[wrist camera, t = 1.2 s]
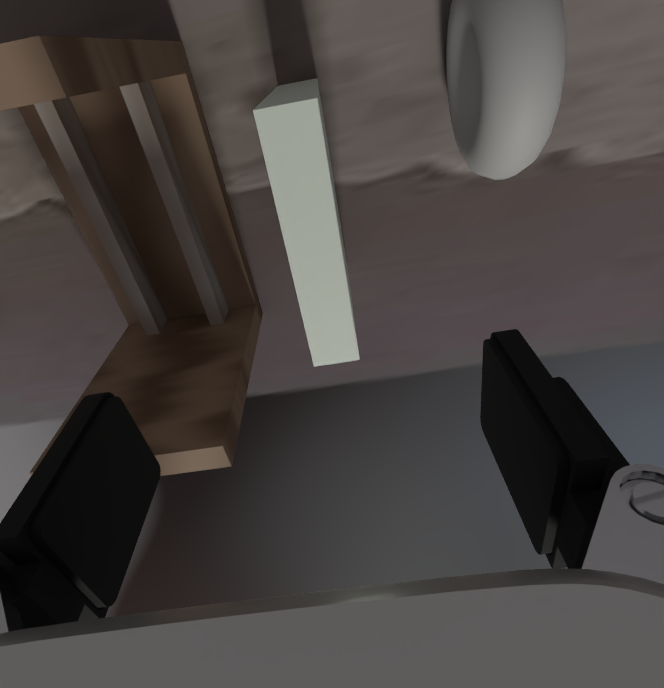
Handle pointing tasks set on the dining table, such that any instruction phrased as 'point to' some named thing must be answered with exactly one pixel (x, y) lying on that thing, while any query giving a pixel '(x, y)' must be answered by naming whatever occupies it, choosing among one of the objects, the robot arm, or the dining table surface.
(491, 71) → the donut
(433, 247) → the dining table surface
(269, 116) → the door panel
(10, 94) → the frame
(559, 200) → the dining table surface
